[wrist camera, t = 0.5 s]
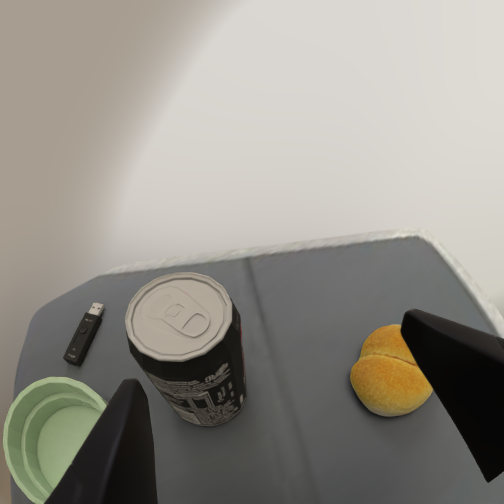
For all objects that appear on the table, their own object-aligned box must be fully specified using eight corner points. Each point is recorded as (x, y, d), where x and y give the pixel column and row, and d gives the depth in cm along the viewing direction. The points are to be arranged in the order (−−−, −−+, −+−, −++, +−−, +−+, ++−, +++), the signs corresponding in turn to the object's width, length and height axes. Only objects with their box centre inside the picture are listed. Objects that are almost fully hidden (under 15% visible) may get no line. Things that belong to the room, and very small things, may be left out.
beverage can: (200, 348, 26) (173, 253, 18) (261, 383, 23) (264, 295, 15) (156, 400, 22) (96, 322, 14) (218, 443, 19) (185, 394, 11)
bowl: (154, 523, 13) (132, 526, 10) (35, 504, 11) (4, 496, 8) (138, 395, 22) (119, 374, 19) (36, 395, 20) (10, 375, 17)
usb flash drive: (94, 305, 29) (91, 300, 29) (107, 308, 29) (104, 302, 28) (66, 362, 23) (61, 357, 23) (80, 366, 23) (75, 362, 23)
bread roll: (335, 400, 22) (347, 382, 19) (370, 327, 27) (382, 302, 24) (414, 432, 18) (436, 418, 15) (436, 355, 24) (455, 333, 21)
